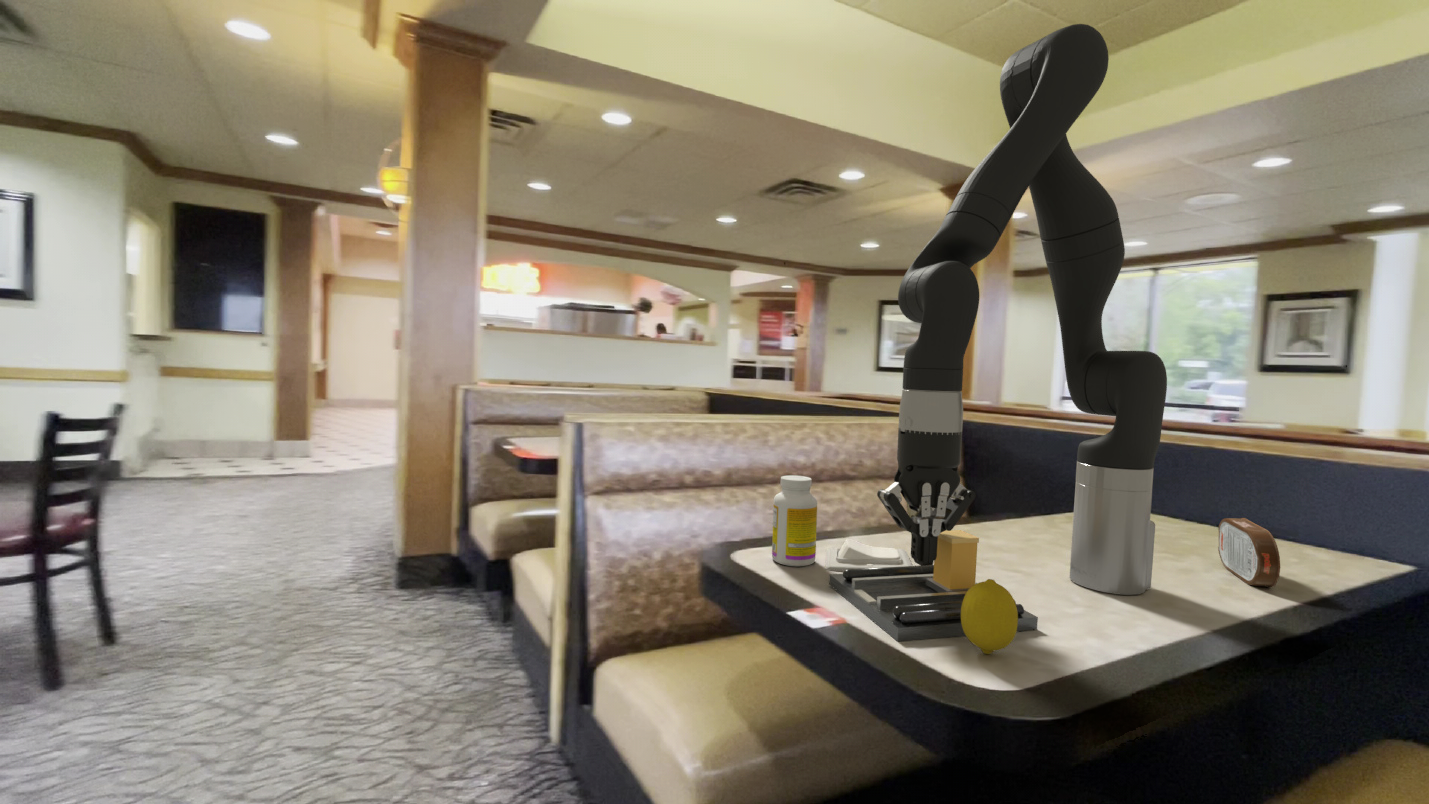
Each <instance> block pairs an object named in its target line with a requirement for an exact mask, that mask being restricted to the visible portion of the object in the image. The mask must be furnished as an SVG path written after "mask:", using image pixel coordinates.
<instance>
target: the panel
mask: <svg viewBox="0 0 1429 804" xmlns="http://www.w3.org/2000/svg"><path fill="white" fill-rule="evenodd" d="M933 573H934V564H933V565H929V566H921V565H912V566H901V567H882V568H863V569H846V570H844V572H842V573H830V574H829V578H828V579H829V580H828V581H829V584H828V585H829V586H830V588H832V589H834V591H836V592H837V593H838V594H839V595H841V596H842V597H843V598H844V599H846V600H847V601H848V602H849V603H850V604H851V605H852V606H854V607H856V609H858V610H859V611H860V612H861V613H863V615H865V616H866V618H868V619H870V620H871V621H872V620H873V621H874V622H873V621H872V622H873V623H875V625H877V626H878V627H879V626H880V627H879V628H880V629H882V630H883V631H884V632H886V634H887V635H890V636H891V638H893V639H894V640H895V641H896V642H904V641H905V642H907V641H917V640H928V639H929V640H930V639H942V638H955V637H967V636H966V635H965V633H964V631H963V628H962V624H961V606H962V602H963V599H964V596H965V594H966V592H967V591H960V592H944V593H939V592H937V591H935V590H934V589H932V588H930V587H929V586H927V585H925V584H926V578H933ZM975 584H977V582H975ZM1014 601H1015V604H1016V607H1017V613H1018V625H1017V631H1016V633H1017V632H1025V631H1024V630H1029V631H1034V630H1033V629H1037V630H1038V623H1039V622H1038V621H1039V618H1038V616H1036V615H1035V614H1032V613H1031V612H1029V611H1027V610H1026V609H1025V608H1024V606H1023V605H1022V604H1020V603H1016V600H1015V599H1014Z"/></svg>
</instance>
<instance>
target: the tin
mask: <svg viewBox="0 0 1429 804" xmlns="http://www.w3.org/2000/svg"><path fill="white" fill-rule="evenodd" d="M1217 529H1218V549H1217V550H1218V554H1219V558H1220V561H1221V563H1222V565H1223V566H1224V568H1225V569H1227V570H1228V571H1229V572H1231V574H1233V575H1235V576H1236V577H1237V578H1239V579H1240V580H1241V581H1242V582H1244V583H1245V584H1247V585H1248V586H1252V587H1254V586H1256V587H1266V588H1273V587H1275V586H1276V585H1277V583H1278V581H1279V578H1280V573H1281V557H1280V552H1279V547H1278V544H1277V542H1276V539H1275V538H1274V536H1273V534H1272V533H1271V532H1270V531H1269V530H1268V529H1267V528H1264V527H1262V526H1260V525H1259V524H1256V523H1254V522H1253V521H1251V520H1249V519H1248V518H1246V517H1241V518H1237V517H1236V518H1235V517H1233V518H1232V517H1229V518H1228V517H1227V518H1222V519H1221V521H1220V522H1219V525H1218V528H1217Z"/></svg>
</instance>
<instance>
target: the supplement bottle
mask: <svg viewBox="0 0 1429 804" xmlns="http://www.w3.org/2000/svg"><path fill="white" fill-rule="evenodd" d="M812 481H813V479H812V478H811V477H809V476H804V475H792V474H791V475H782V476H780V483H779V484H780V488H781V491H780V492H779V493H776V495H774V498H773V503H772V504H773V510H772V511H773V513H772V538H771V539H772V542H771V543H772V545H771V557H772V559H773V561H774V562H776V563H777V564H780V565H783V566H789V567H806V566H809V565H812V564H814V562H815V561H816V555H817V553H816V551H817V525H818V524H817V523H818V522H817V521H818V499H817V498H816V496H814V495H813V493H811V489H812V486H813V485H812V483H813V482H812Z"/></svg>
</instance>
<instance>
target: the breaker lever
mask: <svg viewBox="0 0 1429 804" xmlns="http://www.w3.org/2000/svg"><path fill="white" fill-rule="evenodd" d="M978 543H980V538H979V536H975V535H973V534H970V533H968V532H966V531H965V530H964V531H963V530H962V529H954V530H953V529H952V530H951V531H947V530H946V531H943V532H941V533H940V534H939V536H938V544H937V557H936V560H935V561H934V562H933V565H934V573H933V578H926V584H925V585H927V586H929V587H930V588H932V589H934V590H935V591H937V592H939V593H944V592H960V591H968V590H969V589H970V588H971V587H972V586H973V585H975V583H976V576H977V575H976V573H977V557H978Z"/></svg>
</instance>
